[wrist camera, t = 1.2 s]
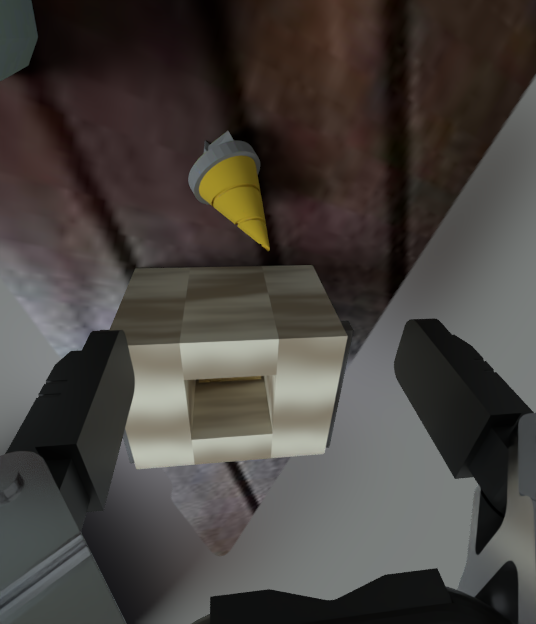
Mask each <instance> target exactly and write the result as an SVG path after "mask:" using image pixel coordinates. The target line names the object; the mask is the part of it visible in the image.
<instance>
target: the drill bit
mask: <svg viewBox="0 0 536 624" xmlns="http://www.w3.org/2000/svg"><path fill="white" fill-rule="evenodd" d="M259 170H260V160H259V158H258V156H257V155H256V153H255V151H254V150H253V148H252V147H251V146H250V145H249V144H248V143H246V142H244V141H234V140H233V138H232V136H231V135H230V133H229V131H227V132H226V133H224V134H223V135H222V136H221V137H219V138H218V139H217V140H215V141H214V142H213V143H211V144H209V143H207V142H206V141H205V145H204V154H203V155H202V156H201V157H200V158H199V159H198V160H197V161H196V162H195V164H194V165H193V167H192V169H191V171H190V173H189V179H188V182H189V186H190V188H191V190H192V191H193V193H194V195H195V197H196V199H197V200H198V201H199V202H201V203H204V204H211V205H212V206H213V207H214V208H216V209H217V210H218V211H219V212H220V213H222V214H223V215H224V216H225V217H227V218H228V219H229V220H230V221H232V222H233V223H234V224H239V225H238V227H239V228H240V229H241V230H243V231H244V232H245V233H246V234H248V235H249V236H250V237H251V238H253V239H254V240H255V241H256V242H258V243H259V244H262V246H263V247H264V248H265V249H266V250H268V251H269V250H270V247H269V241H268V235H267V229H266V223H265V217H264V211H263V205H262V199H261V193H260V187H259V181H258V173H259Z"/></svg>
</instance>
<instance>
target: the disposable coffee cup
mask: <svg viewBox="0 0 536 624" xmlns="http://www.w3.org/2000/svg"><path fill="white" fill-rule="evenodd" d="M37 39H38V33H37V28H36V23H35V17H34V12H33V7H32V1H31V0H0V81H2V80H4V79H5V78H7V77H9V76H11V75H12V74H14V73H16V72H18V71H19V70H21V69H23V68H25V67H26V66H28V65H29V62H30V59H31V57H32V54H33V51H34V48H35V45H36V42H37Z"/></svg>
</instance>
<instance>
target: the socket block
mask: <svg viewBox="0 0 536 624" xmlns="http://www.w3.org/2000/svg"><path fill="white" fill-rule="evenodd" d="M110 330H123V331H124V333H125V335H126V339H127V344H128V348H129V352H130V357H131V361H132V365H133V370H134V375H135V389H134V395H133V399H132V403H131V407H130V411H129V415H128V419H127V422H126V426H125V430H124V434H123V439H124V443H125V446H126V450H127V453H128V457H129V460H130V463H135V466H136V469H146V468H158V467H170V466H182V465H194V464H206V463H218V462H231V461H243V460H255V459H267V458H279V457H291V456H303V455H314V454H315V455H316V454H324V453H325V448H328V447H329V446H330V441H331V436H332V431H333V427H334V422H335V417H336V412H337V407H338V402H339V397H340V393H341V388H342V383H343V378H344V373H345V369H346V364H347V359H348V354H349V349H350V344H351V340H352V335H353V329H352V327H351V325H350V323H349V321H340V320H339V318H338V316H337V314H336V312H335V310H334V308H333V306H332V304H331V302H330V300H329V298H328V296H327V294H326V291H325V289H324V287H323V285H322V283H321V281H320V279H319V277H318V275H317V273H316V271H315V269H314V267H313V265H293V266H239V267H186V268H135V271H134V273H133V276H132V278H131V280H130V283H129V285H128V287H127V290H126V292H125V294H124V297H123V299H122V302H121V304H120V306H119V309H118V311H117V313H116V316H115V318H114V321H113V323H112V325H111V328H110ZM100 331H107V330H100ZM250 376H261V379H256V380H238V381H220V382H202V383H199V379H213V378H232V377H250Z"/></svg>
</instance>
